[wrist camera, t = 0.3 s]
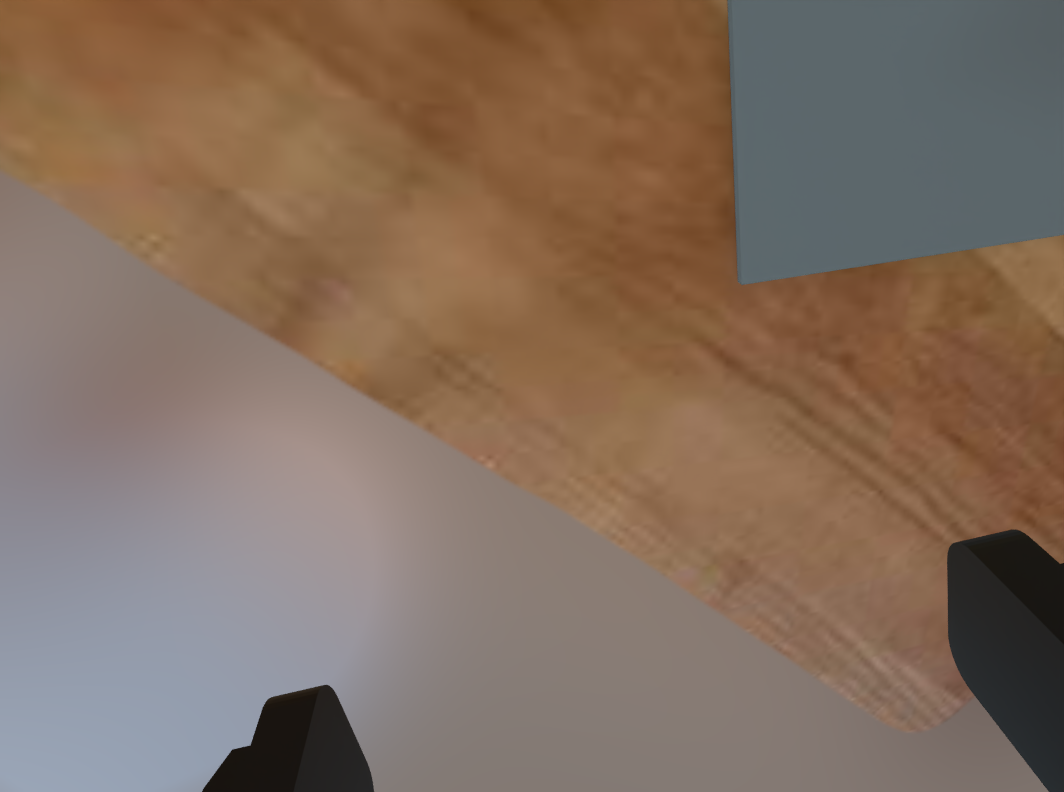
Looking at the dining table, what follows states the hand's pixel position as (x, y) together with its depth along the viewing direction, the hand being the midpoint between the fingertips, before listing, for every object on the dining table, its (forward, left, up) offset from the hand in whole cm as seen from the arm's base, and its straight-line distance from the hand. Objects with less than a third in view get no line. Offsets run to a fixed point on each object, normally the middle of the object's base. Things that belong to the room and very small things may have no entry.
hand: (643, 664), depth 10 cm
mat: (-5, +18, -28) cm, 34 cm away
